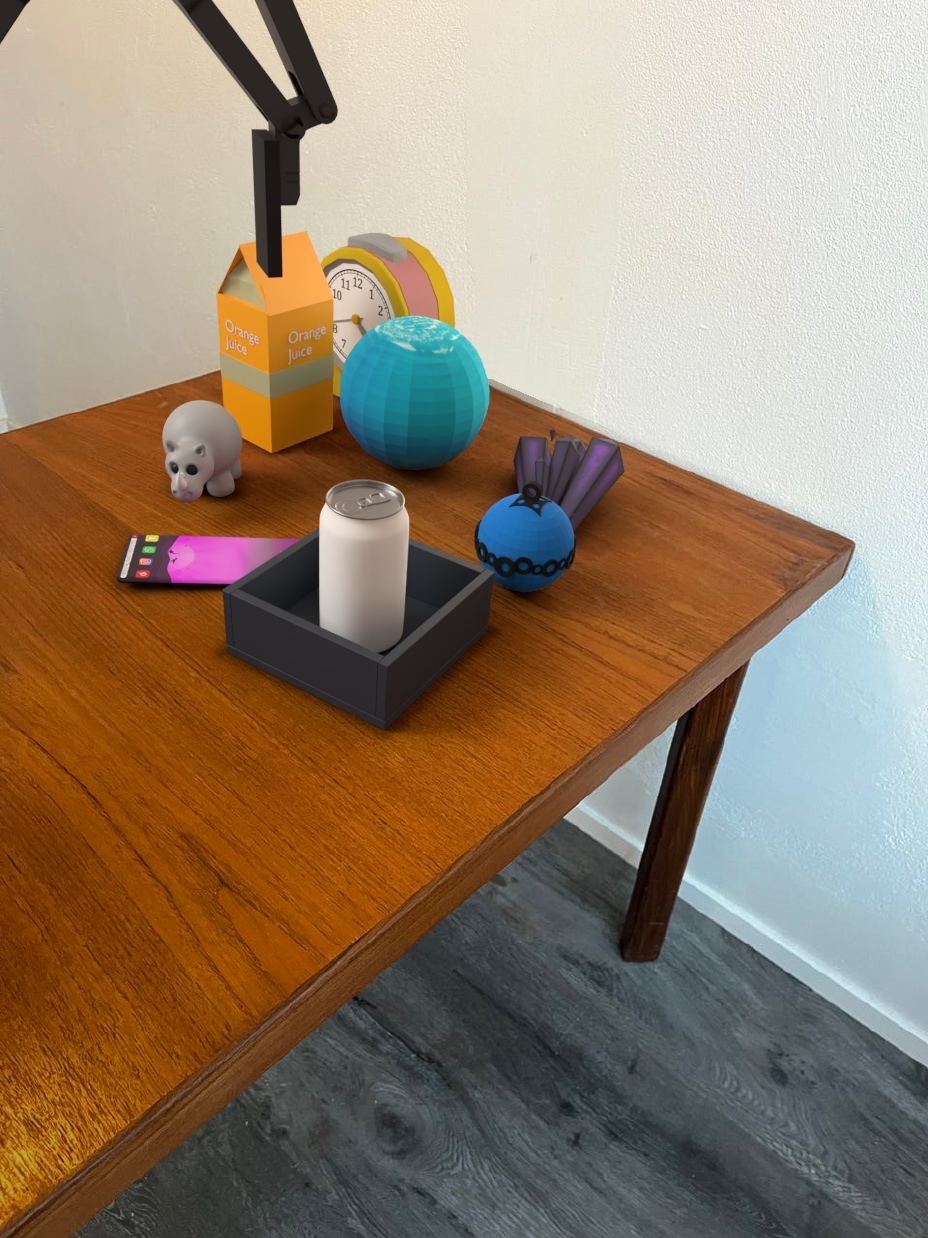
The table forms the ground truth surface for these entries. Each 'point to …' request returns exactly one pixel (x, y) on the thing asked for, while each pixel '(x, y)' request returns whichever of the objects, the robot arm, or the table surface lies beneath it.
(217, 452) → the chubby cartoon animal
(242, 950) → the table surface
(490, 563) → the ornament
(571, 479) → the crystal
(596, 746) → the table surface
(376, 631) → the can
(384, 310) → the alarm clock
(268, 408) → the orange juice
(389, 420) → the decorative orb
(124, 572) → the smartphone
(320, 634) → the tray
